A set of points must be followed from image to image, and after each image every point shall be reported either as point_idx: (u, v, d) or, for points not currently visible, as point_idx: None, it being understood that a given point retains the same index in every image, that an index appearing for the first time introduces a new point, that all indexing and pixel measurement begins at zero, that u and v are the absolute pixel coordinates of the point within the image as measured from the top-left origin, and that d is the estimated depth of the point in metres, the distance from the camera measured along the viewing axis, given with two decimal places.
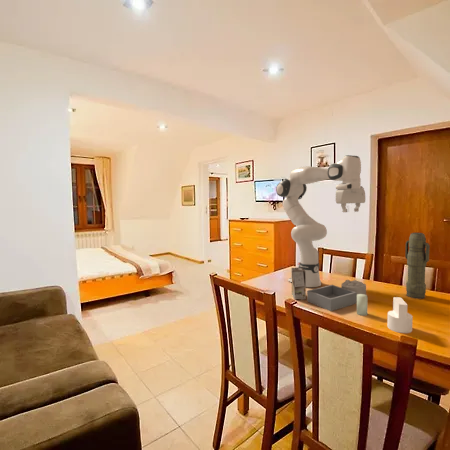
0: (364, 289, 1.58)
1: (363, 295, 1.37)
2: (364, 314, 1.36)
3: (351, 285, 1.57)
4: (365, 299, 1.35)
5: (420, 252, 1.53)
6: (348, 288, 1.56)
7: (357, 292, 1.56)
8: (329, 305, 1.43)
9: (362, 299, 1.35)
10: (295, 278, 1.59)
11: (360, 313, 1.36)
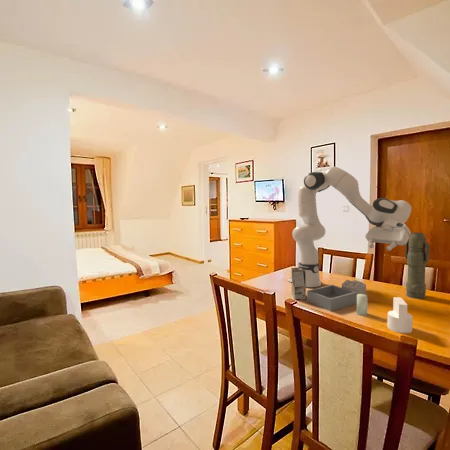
0: (364, 289, 1.58)
1: (363, 295, 1.37)
2: (364, 314, 1.36)
3: (351, 285, 1.57)
4: (365, 299, 1.35)
5: (420, 252, 1.53)
6: (348, 288, 1.56)
7: (357, 292, 1.56)
8: (329, 305, 1.43)
9: (362, 299, 1.35)
10: (295, 278, 1.59)
11: (360, 313, 1.36)
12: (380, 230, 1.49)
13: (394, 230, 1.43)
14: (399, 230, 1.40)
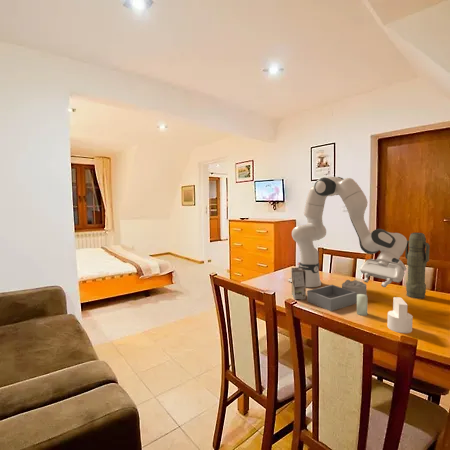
0: (364, 289, 1.58)
1: (363, 295, 1.37)
2: (364, 314, 1.36)
3: (352, 285, 1.57)
4: (365, 299, 1.35)
5: (420, 252, 1.53)
6: (349, 288, 1.56)
7: (358, 292, 1.56)
8: (329, 305, 1.43)
9: (362, 299, 1.35)
10: (295, 278, 1.59)
11: (360, 313, 1.36)
12: (375, 264, 1.46)
13: (389, 265, 1.39)
14: (394, 266, 1.37)
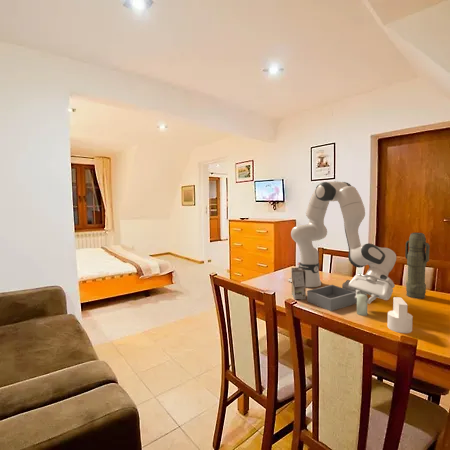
0: None
1: (363, 295, 1.37)
2: (364, 314, 1.36)
3: None
4: (365, 299, 1.35)
5: (420, 252, 1.53)
6: (349, 288, 1.56)
7: None
8: (329, 305, 1.43)
9: (362, 299, 1.35)
10: (295, 278, 1.59)
11: (360, 313, 1.36)
12: (363, 280, 1.42)
13: (377, 282, 1.36)
14: (382, 283, 1.34)
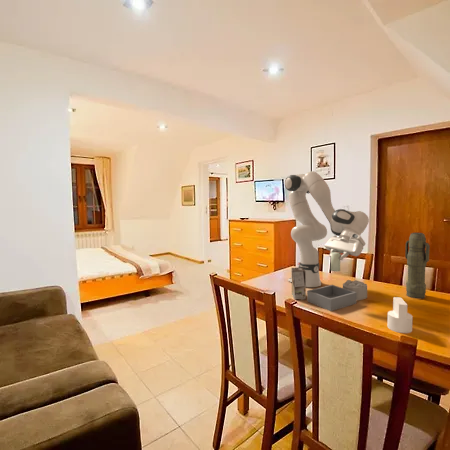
0: (365, 289, 1.58)
1: (336, 253, 1.49)
2: (337, 270, 1.48)
3: (352, 285, 1.57)
4: (338, 256, 1.47)
5: (420, 252, 1.53)
6: (350, 288, 1.56)
7: (359, 292, 1.56)
8: (329, 305, 1.43)
9: (335, 256, 1.47)
10: (295, 278, 1.59)
11: (333, 269, 1.48)
12: (338, 240, 1.54)
13: (350, 241, 1.48)
14: (354, 241, 1.45)
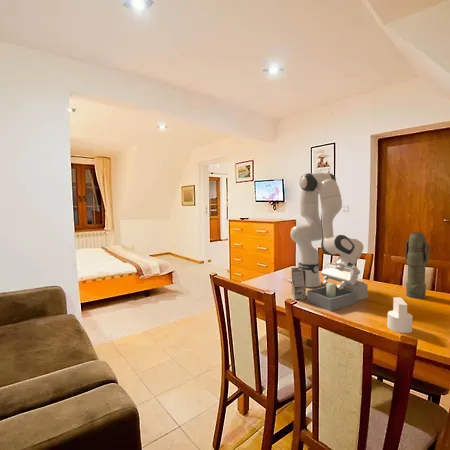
0: (366, 289, 1.58)
1: (332, 284, 1.53)
2: None
3: (353, 285, 1.57)
4: (333, 287, 1.51)
5: (420, 252, 1.53)
6: (350, 288, 1.56)
7: (359, 292, 1.55)
8: (329, 305, 1.43)
9: (330, 287, 1.51)
10: (295, 278, 1.59)
11: None
12: (334, 268, 1.58)
13: (345, 269, 1.51)
14: (349, 270, 1.49)
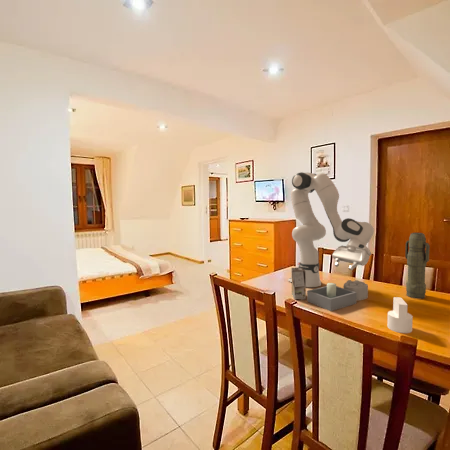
0: (366, 289, 1.57)
1: (332, 284, 1.53)
2: None
3: (353, 285, 1.57)
4: (334, 287, 1.51)
5: (420, 252, 1.53)
6: (351, 288, 1.56)
7: (359, 292, 1.55)
8: (329, 305, 1.43)
9: (331, 287, 1.51)
10: (295, 278, 1.59)
11: None
12: (345, 250, 1.61)
13: (356, 251, 1.55)
14: (360, 251, 1.52)
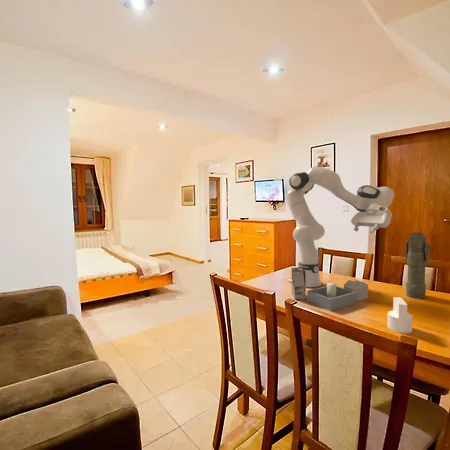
0: (366, 289, 1.57)
1: (332, 284, 1.53)
2: None
3: (354, 285, 1.57)
4: (334, 287, 1.51)
5: (420, 252, 1.53)
6: (351, 288, 1.56)
7: (360, 292, 1.55)
8: (329, 305, 1.43)
9: (331, 287, 1.51)
10: (295, 278, 1.59)
11: None
12: (364, 214, 1.58)
13: (377, 214, 1.51)
14: (382, 213, 1.49)
